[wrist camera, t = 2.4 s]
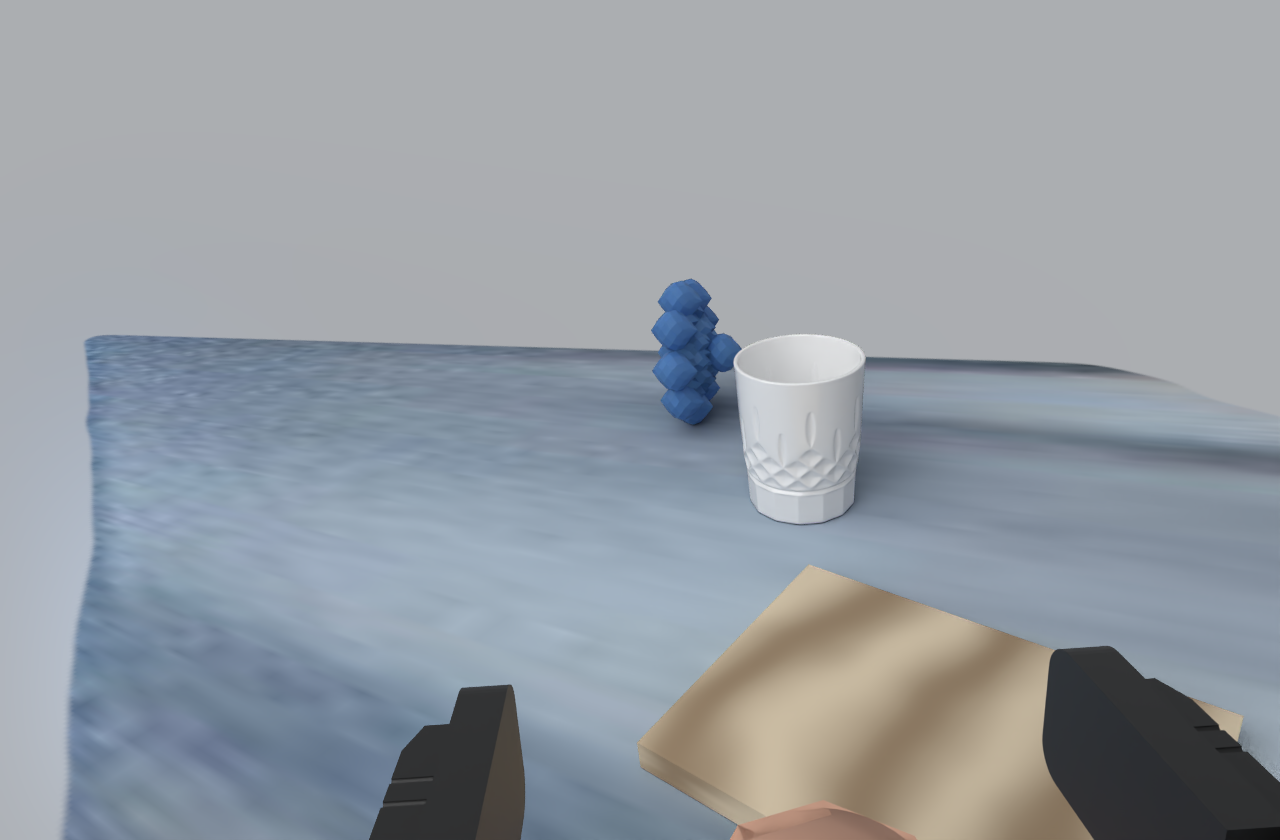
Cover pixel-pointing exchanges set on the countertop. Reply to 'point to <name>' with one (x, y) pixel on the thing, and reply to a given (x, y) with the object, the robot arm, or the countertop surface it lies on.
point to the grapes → (690, 351)
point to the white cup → (801, 424)
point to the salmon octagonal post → (818, 826)
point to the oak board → (872, 719)
